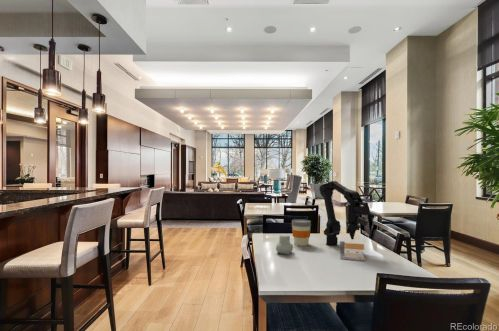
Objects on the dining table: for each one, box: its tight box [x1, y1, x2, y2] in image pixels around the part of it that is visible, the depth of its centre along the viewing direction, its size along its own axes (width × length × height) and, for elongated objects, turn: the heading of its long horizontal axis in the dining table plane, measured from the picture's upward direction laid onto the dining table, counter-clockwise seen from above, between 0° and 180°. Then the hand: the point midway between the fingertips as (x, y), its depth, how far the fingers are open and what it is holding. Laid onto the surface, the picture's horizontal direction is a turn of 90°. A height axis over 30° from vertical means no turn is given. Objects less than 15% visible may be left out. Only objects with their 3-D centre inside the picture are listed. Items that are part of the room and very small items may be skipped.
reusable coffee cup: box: [291, 218, 312, 247], centre depth 184 cm, size 13×13×15 cm
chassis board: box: [339, 247, 366, 262], centre depth 160 cm, size 12×20×3 cm, turn 163°
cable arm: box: [339, 240, 365, 251], centre depth 160 cm, size 13×3×4 cm, turn 73°
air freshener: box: [275, 233, 294, 255], centre depth 163 cm, size 11×8×10 cm
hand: (352, 239), depth 166 cm, fingers closed
